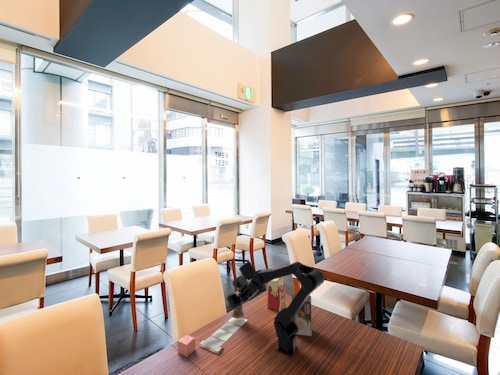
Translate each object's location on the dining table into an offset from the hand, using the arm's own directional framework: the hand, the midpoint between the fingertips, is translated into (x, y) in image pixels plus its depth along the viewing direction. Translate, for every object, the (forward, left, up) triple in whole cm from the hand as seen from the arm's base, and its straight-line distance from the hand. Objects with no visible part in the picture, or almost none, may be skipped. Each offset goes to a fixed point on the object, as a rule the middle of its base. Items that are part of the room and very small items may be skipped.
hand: (235, 303), depth 127 cm
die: (+6, +28, -9) cm, 30 cm away
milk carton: (-12, -22, -10) cm, 27 cm away
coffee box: (-31, -9, -10) cm, 34 cm away
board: (-1, +10, -9) cm, 14 cm away
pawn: (-1, 0, -5) cm, 6 cm away
